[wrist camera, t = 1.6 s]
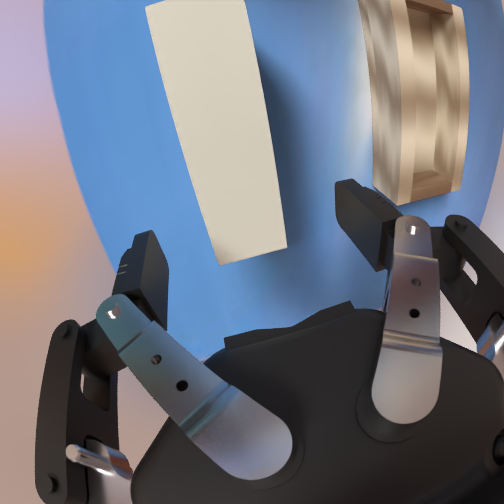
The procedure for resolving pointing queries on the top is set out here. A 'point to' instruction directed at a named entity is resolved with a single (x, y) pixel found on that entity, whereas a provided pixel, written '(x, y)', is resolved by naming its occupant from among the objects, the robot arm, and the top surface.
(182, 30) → the strip
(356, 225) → the robot arm
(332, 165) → the top surface
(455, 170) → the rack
